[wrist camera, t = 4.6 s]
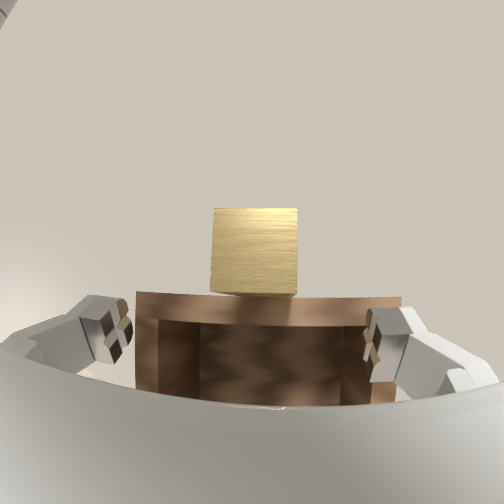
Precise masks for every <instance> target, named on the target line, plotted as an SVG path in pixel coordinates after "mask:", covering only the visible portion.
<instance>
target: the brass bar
mask: <svg viewBox="0 0 504 504" xmlns="http://www.w3.org/2000/svg"><path fill="white" fill-rule="evenodd" d="M210 291H211V292H217V293H223V294H228V295H234V296H240V297H279V298H292V297H293V296H294V295H296V294H297V208H215V209H214V221H213V237H212V257H211V278H210Z"/></svg>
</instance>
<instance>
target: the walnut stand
mask: <svg viewBox="0 0 504 504" xmlns="http://www.w3.org/2000/svg"><path fill="white" fill-rule="evenodd" d="M392 307H401V297H374V298H279V297H238V296H211V295H189V294H170V293H153V292H138V291H137V292H136V313H135V315H136V316H135V379H136V389H137V390H142V391H147V392H153V393H158V394H164V395H170V396H176V397H183V398H190V399H197V400H205V401H214V402H224V403H235V404H248V405H265V406H298V407H316V406H349V405H365V404H378V403H389V402H395V395H396V386H397V384H396V383H394V382H395V381H389V382H369V379H368V375H367V372H366V364H367V362H366V361H365V360H364V359H363V357H362V352H361V339H362V334H363V331H364V330H365V329H366V328H367V324H366V321H365V318H366V313H367V310H368V309H372V308H392Z"/></svg>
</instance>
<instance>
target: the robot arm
mask: <svg viewBox="0 0 504 504" xmlns="http://www.w3.org/2000/svg"><path fill="white" fill-rule="evenodd" d="M16 2H17V0H0V29H1V27H2V25H3V24H4V22H5V20H6V18H7V17H8V15H9V13H10V12H11V10H12V8H13V7H14V5H15V3H16ZM127 312H128V306H127V302H126V301H125V300H124V299H122V298H113V297H106V296H99V295H87V296H86V297H85V298H84V299H83V300H81V302H79V303H78V304H77V305H76V306H75V307H74V308H73V309H71V310H70V311H69V312H68V313H67V314H66V315H60V316H57V317H55V318H52V319H49V320H46V321H44V322H41V323H39V324H36V325H33V326H30V327H28V328H25V329H22V330H19V331H17V332H14V333H13V334H11V335H10V336H9V337H8V338H7V339H6V340H5V341H3V342H2V343H1V344H0V504H504V381H503V382H499V380H498V378H497V377H496V375H495V374H494V372H493V371H492V369H491V368H490V366H489V365H488V363H487V362H486V361H484V360H482V359H480V358H478V357H477V356H475V355H473V354H471V353H469V352H467V351H465V350H464V349H462V348H460V347H458V346H456V345H455V344H453V343H451V342H449V341H447V340H445V339H443V338H442V337H440V336H438V335H436V334H434V333H428V331H427V329H426V328H425V326H424V324H423V323H422V321H421V320H420V318H419V316H418V315H417V313H416V312H415V310H414V309H413V308H412V307H411V306H408V307H392V308H372V309H368V310H367V313H366V318H365V321H366V324H367V328H366V329H365V330H364V331H363V334H362V339H361V352H362V357H363V359H364V360H365V361H366V362H367V364H366V372H367V375H368V379H369V382H389V381H395V382H394V383H396V384H397V385H398V386H399V387H400V388H401V389H402V390H403V391H404V392H405V393H406V394H407V395H408V396H410V397H411V398H412V399H413V400H406V401H398V402H389V403H378V404H365V405H349V406H316V407H298V406H265V405H248V404H235V403H224V402H214V401H205V400H197V399H190V398H183V397H176V396H170V395H164V394H158V393H153V392H147V391H142V390H137V389H132V388H128V387H123V386H119V385H114V384H110V383H106V382H102V381H98V380H94V379H91V378H87V377H83V376H80V375H76V373H78V372H80V371H81V370H83V369H84V368H86V367H87V366H89V365H91V364H92V363H94V362H95V361H98V362H103V363H109V364H115V363H116V361H117V360H118V358H119V357H120V355H121V354H122V348H123V347H125V346H127V345H128V344H129V343H130V341H131V339H132V335H133V326H132V323H131V320H130V319H129V318H128V316H127V315H126V314H127Z"/></svg>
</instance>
